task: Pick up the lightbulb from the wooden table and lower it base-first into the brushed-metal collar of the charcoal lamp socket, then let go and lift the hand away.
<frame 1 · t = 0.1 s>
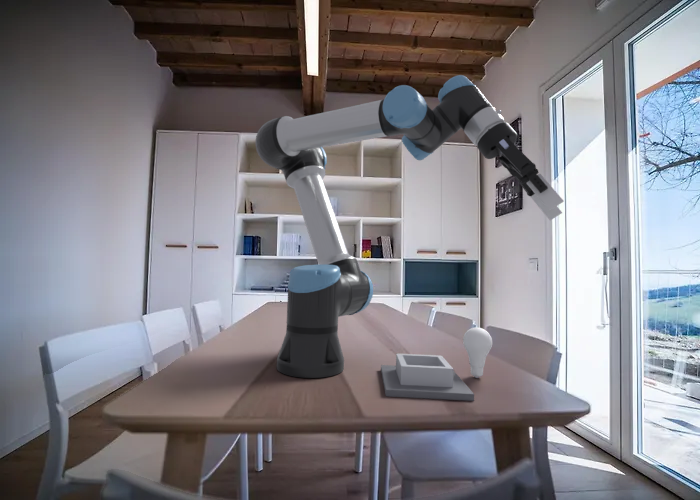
hand: (556, 211, 69), 36 cm above the table, tool tilted 35°, fingers open, 13 cm apart
lightbulb: (476, 378, 78), on the table
lamp socket: (422, 383, 72), on the table
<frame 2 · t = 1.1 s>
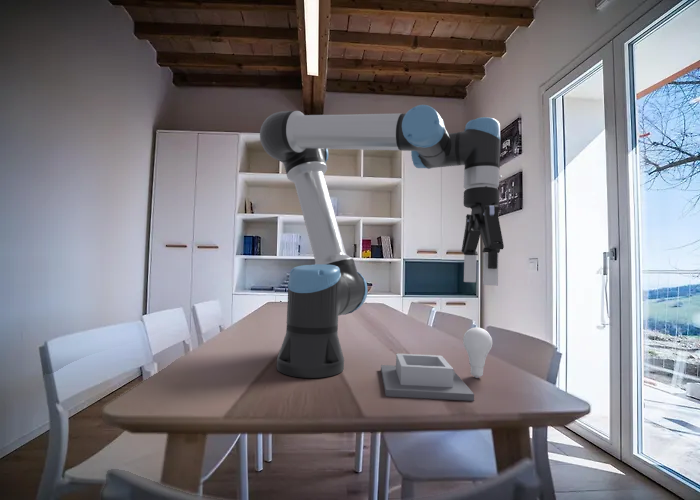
hand: (479, 283, 79), 21 cm above the table, tool pointing down, fingers open, 13 cm apart
nothing on the table moved.
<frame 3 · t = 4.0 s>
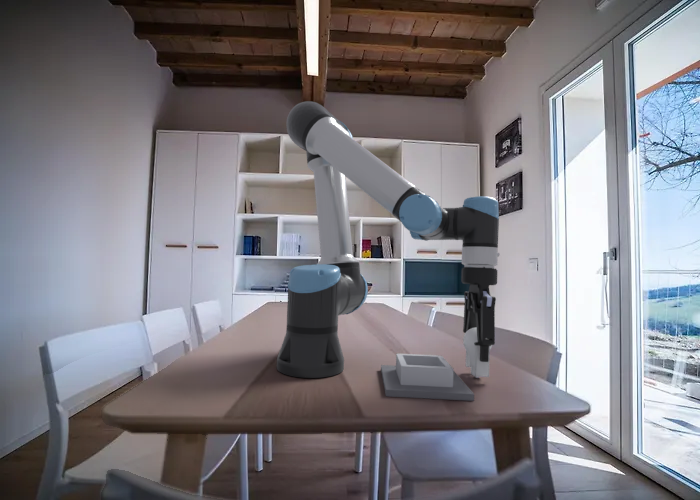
hand: (476, 371, 78), 1 cm above the table, tool pointing down, fingers closed on lightbulb, 6 cm apart
lightbulb: (476, 378, 78), on the table, touching gripper
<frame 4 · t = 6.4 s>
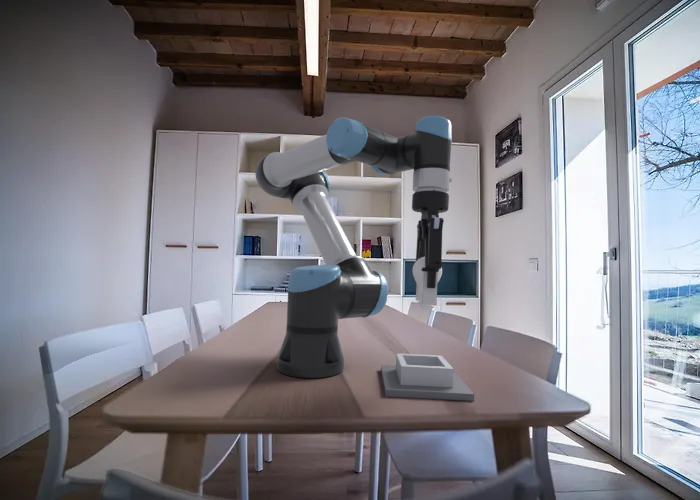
hand: (425, 302, 74), 17 cm above the table, tool pointing down, fingers closed on lightbulb, 6 cm apart
lightbulb: (425, 310, 74), point 15 cm above the table, touching gripper
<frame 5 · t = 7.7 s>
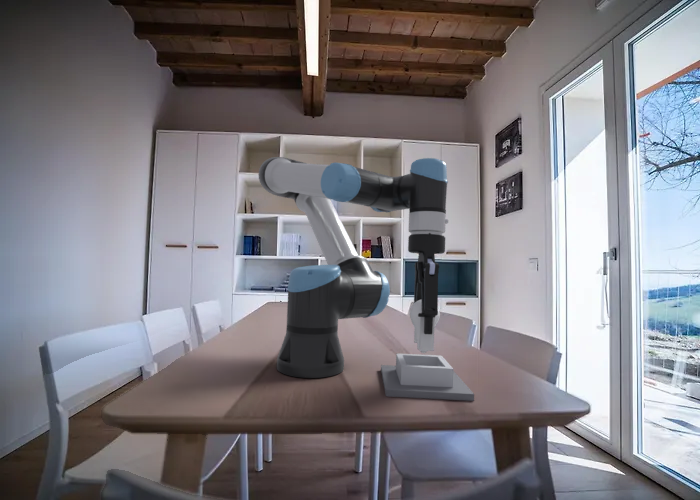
hand: (423, 346, 73), 8 cm above the table, tool pointing down, fingers closed on lightbulb, 6 cm apart
lightbulb: (423, 353, 73), point 6 cm above the table, touching gripper
when the fingers open (5 cm above the table, at t = 8.9 s): lightbulb drops 2 cm, resting on lamp socket.
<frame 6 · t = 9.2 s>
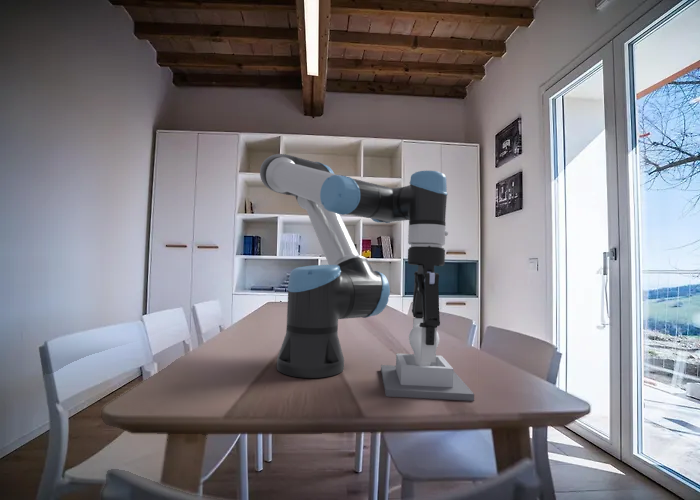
hand: (423, 354, 73), 6 cm above the table, tool pointing down, fingers open, 10 cm apart
lightbulb: (422, 378, 73), point 1 cm above the table, touching lamp socket
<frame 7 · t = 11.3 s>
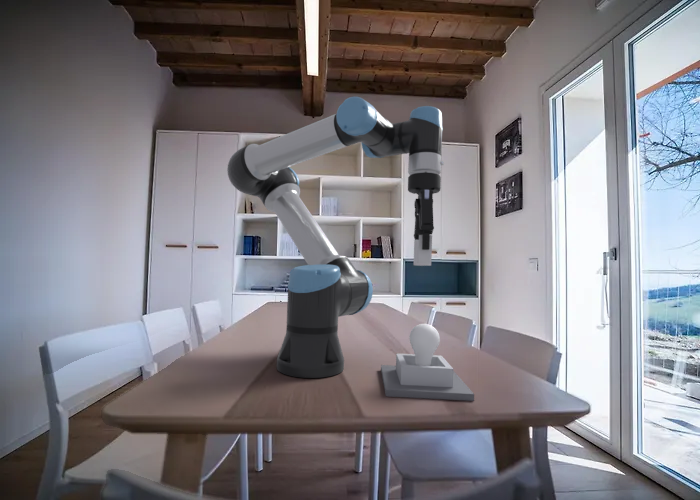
hand: (421, 265, 82), 24 cm above the table, tool pointing down, fingers open, 13 cm apart
nothing on the table moved.
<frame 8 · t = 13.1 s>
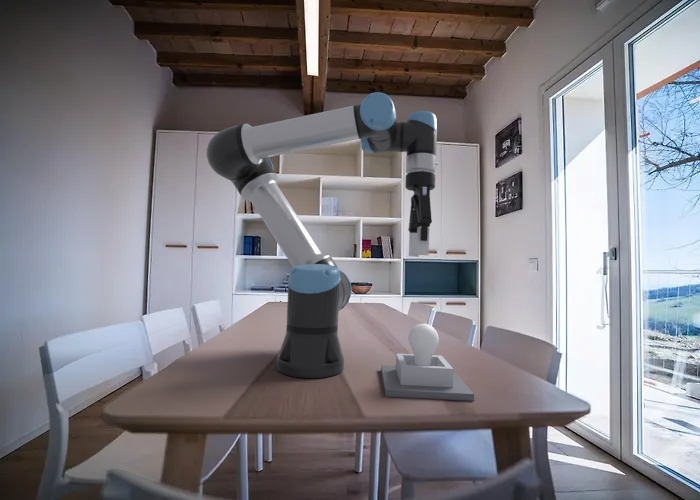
hand: (417, 256, 90), 27 cm above the table, tool pointing down, fingers open, 13 cm apart
nothing on the table moved.
at the end: lightbulb 0.2 cm off-centre on the lamp socket, point 1.0 cm above the lamp socket's base; lightbulb tilted 0°; the gripper is holding nothing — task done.
